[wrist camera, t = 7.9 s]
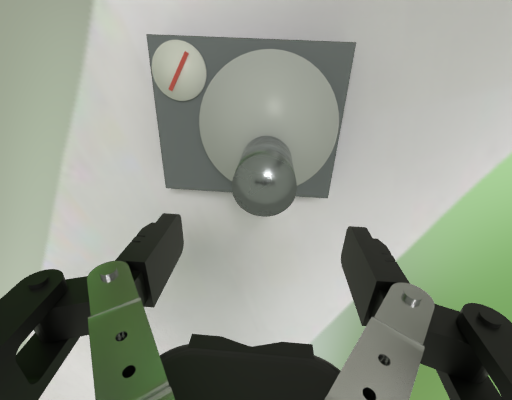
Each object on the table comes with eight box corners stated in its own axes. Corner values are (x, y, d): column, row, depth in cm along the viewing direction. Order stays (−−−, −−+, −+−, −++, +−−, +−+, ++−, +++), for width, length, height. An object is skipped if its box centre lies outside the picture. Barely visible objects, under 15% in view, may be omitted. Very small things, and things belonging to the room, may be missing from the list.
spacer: (294, 137, 22) (300, 158, 16) (289, 185, 24) (293, 218, 18) (241, 134, 22) (231, 154, 17) (241, 182, 24) (231, 214, 19)
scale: (346, 45, 22) (360, 41, 19) (322, 185, 28) (329, 202, 24) (161, 38, 23) (140, 32, 19) (176, 177, 29) (162, 192, 25)
